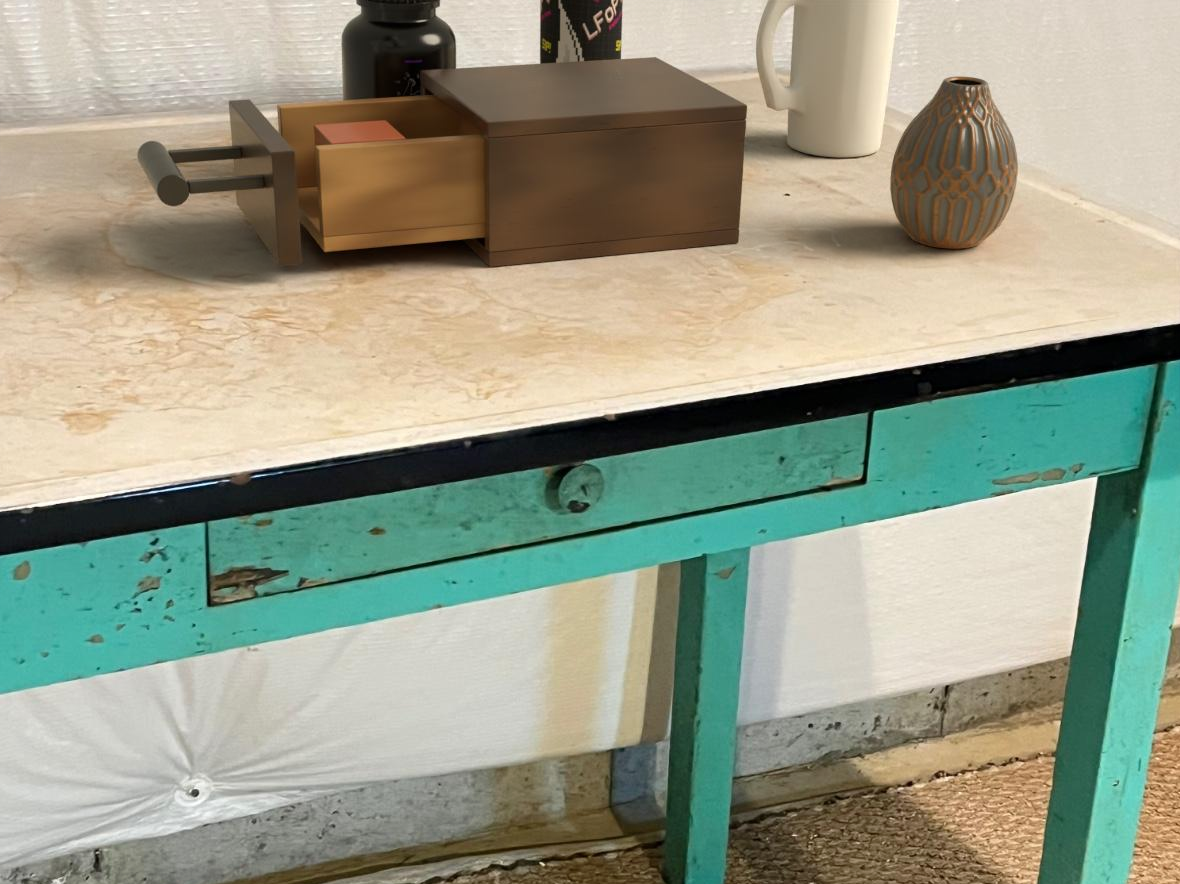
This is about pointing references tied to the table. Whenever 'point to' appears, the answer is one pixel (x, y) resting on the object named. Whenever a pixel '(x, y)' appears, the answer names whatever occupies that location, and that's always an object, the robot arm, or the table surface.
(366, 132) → the block
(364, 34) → the supplement bottle
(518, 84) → the cabinet
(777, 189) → the table surface
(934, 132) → the vase
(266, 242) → the drawer
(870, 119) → the mug
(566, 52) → the beverage can
